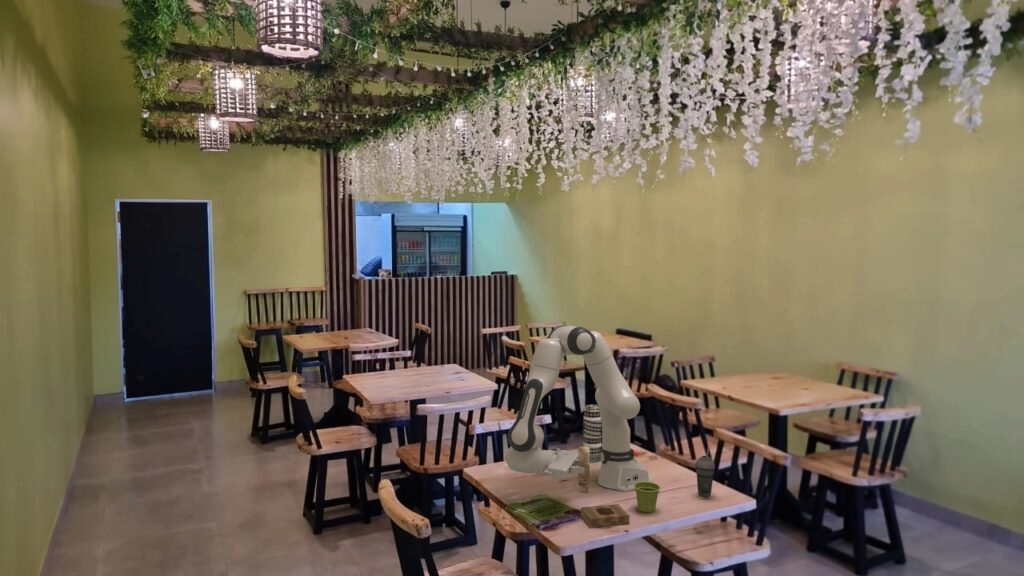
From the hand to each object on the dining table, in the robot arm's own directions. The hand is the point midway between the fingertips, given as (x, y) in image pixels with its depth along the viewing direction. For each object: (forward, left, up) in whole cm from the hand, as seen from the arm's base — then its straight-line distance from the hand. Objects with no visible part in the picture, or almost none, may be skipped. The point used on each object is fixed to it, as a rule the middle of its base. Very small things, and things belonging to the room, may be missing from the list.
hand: (586, 467), depth 227 cm
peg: (+1, 0, -9) cm, 9 cm away
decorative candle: (-21, -50, -16) cm, 57 cm away
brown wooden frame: (-4, +9, -16) cm, 18 cm away
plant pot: (-22, +4, -16) cm, 28 cm away
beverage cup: (-49, -3, -16) cm, 52 cm away
